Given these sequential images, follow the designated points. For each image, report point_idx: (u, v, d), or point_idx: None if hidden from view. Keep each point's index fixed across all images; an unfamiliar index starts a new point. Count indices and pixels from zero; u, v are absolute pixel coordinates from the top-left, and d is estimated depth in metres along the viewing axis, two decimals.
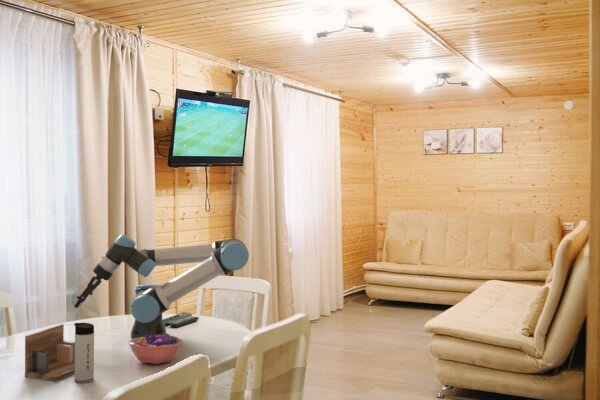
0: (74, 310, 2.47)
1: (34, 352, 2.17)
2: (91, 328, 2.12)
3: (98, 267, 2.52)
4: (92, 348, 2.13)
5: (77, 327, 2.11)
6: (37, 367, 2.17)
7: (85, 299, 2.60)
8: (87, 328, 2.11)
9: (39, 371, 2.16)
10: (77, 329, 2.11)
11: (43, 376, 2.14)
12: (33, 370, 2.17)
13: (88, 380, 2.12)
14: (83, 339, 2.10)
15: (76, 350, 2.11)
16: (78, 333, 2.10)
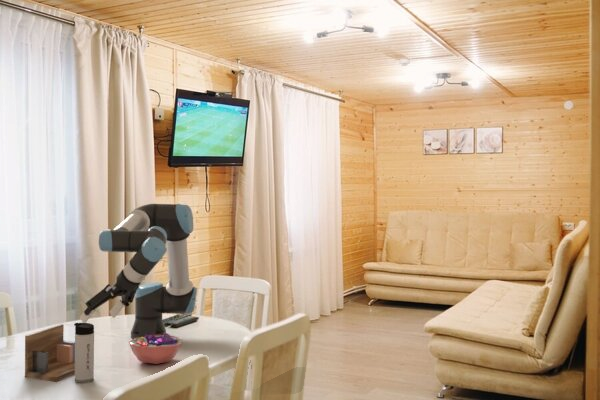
0: None
1: (34, 352, 2.17)
2: (91, 328, 2.12)
3: None
4: (92, 348, 2.13)
5: (77, 327, 2.11)
6: (37, 367, 2.17)
7: None
8: (87, 328, 2.11)
9: (39, 371, 2.16)
10: (77, 329, 2.11)
11: (43, 376, 2.14)
12: (33, 370, 2.17)
13: (88, 380, 2.12)
14: (83, 339, 2.10)
15: (76, 350, 2.11)
16: (78, 333, 2.10)
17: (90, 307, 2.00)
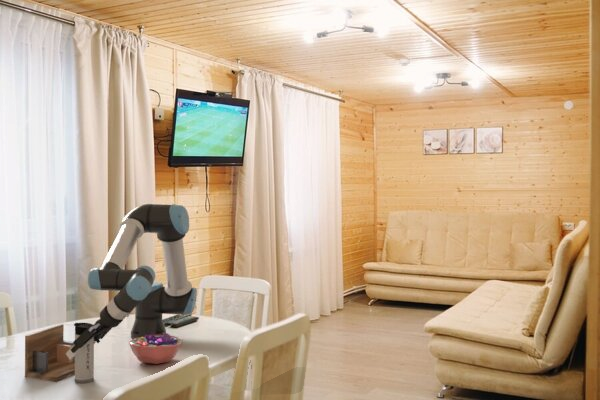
0: None
1: (34, 352, 2.17)
2: None
3: None
4: (92, 348, 2.13)
5: (77, 327, 2.10)
6: (37, 367, 2.17)
7: None
8: None
9: (39, 371, 2.16)
10: (77, 329, 2.10)
11: (43, 376, 2.14)
12: (33, 370, 2.17)
13: (88, 380, 2.12)
14: None
15: None
16: (78, 333, 2.10)
17: (77, 347, 2.06)
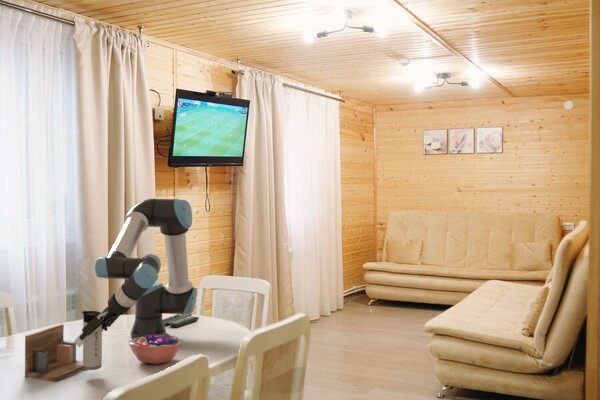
0: None
1: (34, 352, 2.17)
2: None
3: None
4: (100, 336, 2.16)
5: (85, 315, 2.14)
6: (37, 367, 2.17)
7: None
8: None
9: (39, 371, 2.16)
10: (85, 317, 2.14)
11: (43, 376, 2.14)
12: (33, 370, 2.17)
13: (96, 367, 2.15)
14: None
15: None
16: (86, 321, 2.14)
17: (86, 334, 2.10)
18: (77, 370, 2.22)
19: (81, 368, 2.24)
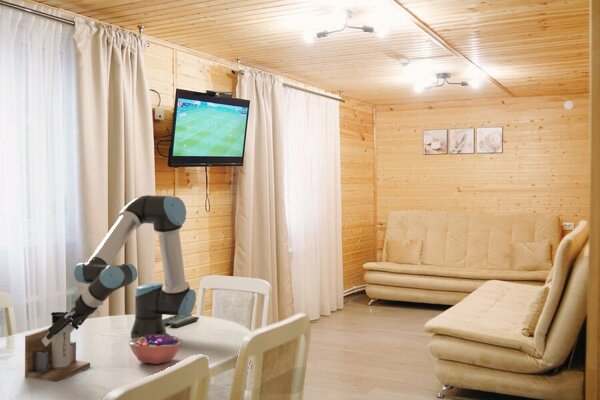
0: None
1: (34, 352, 2.17)
2: None
3: None
4: (68, 336, 2.21)
5: (53, 316, 2.19)
6: (37, 367, 2.17)
7: None
8: None
9: (39, 371, 2.16)
10: (53, 318, 2.19)
11: (43, 376, 2.14)
12: (33, 370, 2.17)
13: (64, 367, 2.20)
14: None
15: None
16: (54, 322, 2.19)
17: (52, 333, 2.13)
18: (77, 370, 2.22)
19: (81, 368, 2.24)
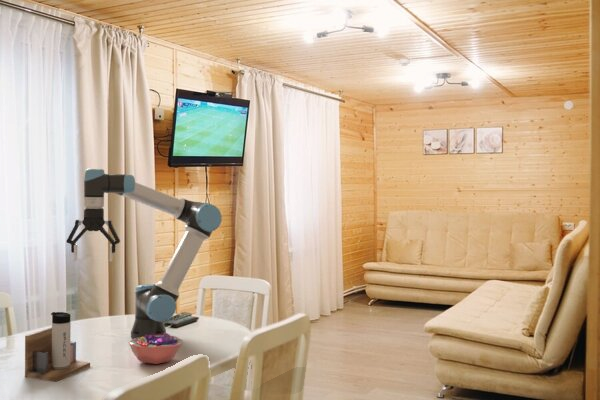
0: (112, 256, 2.47)
1: (34, 352, 2.17)
2: (67, 317, 2.20)
3: (100, 210, 2.42)
4: (68, 336, 2.21)
5: (54, 316, 2.19)
6: (37, 367, 2.17)
7: None
8: (63, 317, 2.19)
9: (39, 371, 2.16)
10: (54, 318, 2.19)
11: (43, 376, 2.14)
12: (33, 370, 2.17)
13: (64, 367, 2.20)
14: (60, 327, 2.19)
15: (53, 338, 2.19)
16: (55, 322, 2.19)
17: None
18: (77, 370, 2.22)
19: (81, 368, 2.24)
